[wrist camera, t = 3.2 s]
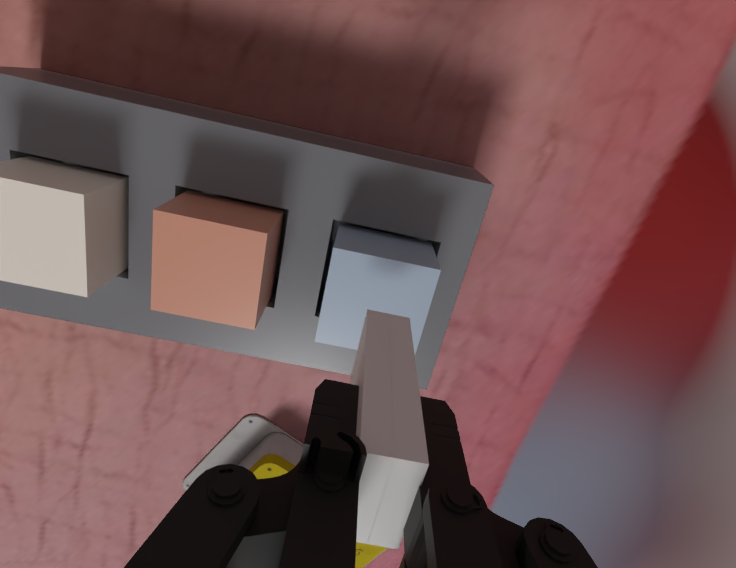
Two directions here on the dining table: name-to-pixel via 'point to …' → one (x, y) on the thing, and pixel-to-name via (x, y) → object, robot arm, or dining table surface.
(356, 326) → the blue key
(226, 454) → the emergency button
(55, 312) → the key panel
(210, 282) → the orange key
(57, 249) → the ivory key
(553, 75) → the dining table surface
